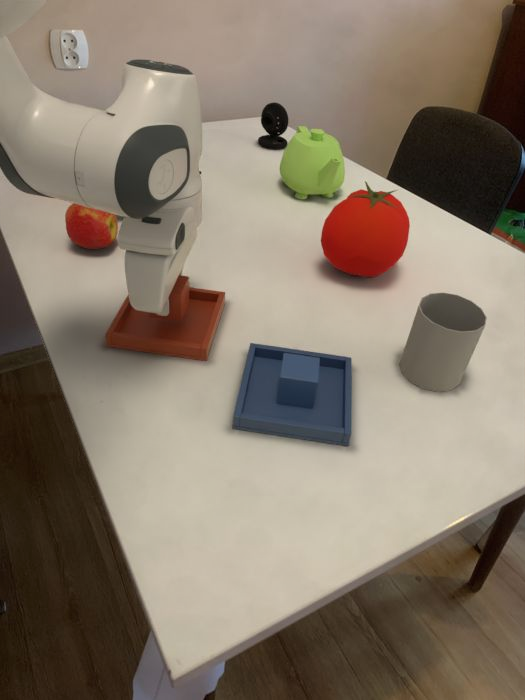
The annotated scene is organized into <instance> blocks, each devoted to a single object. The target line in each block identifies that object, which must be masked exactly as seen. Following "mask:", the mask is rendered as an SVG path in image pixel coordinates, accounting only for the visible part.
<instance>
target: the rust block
mask: <svg viewBox="0 0 525 700" xmlns="http://www.w3.org/2000/svg"><path fill="white" fill-rule="evenodd" d="M189 287H190V277H189V276H187V275H182V276H181V275H179V276H178V278H177V280H176V282H175V285H174V287H173V289H172V291H171V293H170V295H169V297H168V299H169V300H171V309H170V312H169V314H168V315H167V316H162V315H157V314H156V313H149V316H150V317H154V318H161V319H168V320H175V321H182V319H183V317H184V314H185V312H186V309H187V307H188V304H189Z"/></svg>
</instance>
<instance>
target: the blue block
mask: <svg viewBox="0 0 525 700" xmlns="http://www.w3.org/2000/svg"><path fill="white" fill-rule="evenodd" d="M319 362H320V358H316V357H309V356H303V355H296V354H289V353H284V354H283V360H282V367H281V373H280V380H279V387H278V394H277V402H276V403H277V404H284V405H290V406H297V407H304V408H310V409H313V405H314V400H315V395H316V390H317V385H318V376H319Z"/></svg>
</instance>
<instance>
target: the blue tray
mask: <svg viewBox="0 0 525 700" xmlns="http://www.w3.org/2000/svg"><path fill="white" fill-rule="evenodd" d="M284 353H289V354H296V355H303V356H309V357H316V358H320V362H319V376H318V385H317V390H316V395H315V400H314V405H313V409H310V408H304V407H297V406H290V405H284V404H277V403H276V402H277V394H278V387H279V380H280V373H281V367H282V360H283V354H284ZM352 359H353V358H352V357H350V356H345V355H337V354H329V353H323V352H316V351H310V350H304V349H302V350H301V349H296V348H290V347H289V348H288V347H280V346H274V345H268V344H261V343H253V342H250V343H249V348H248V352H247V356H246V360H245V365H244V369H243V373H242V377H241V381H240V384H239V385H240V386H239V389H238V390H239V391H238V394H237V398H236V403H235V407H234V411H233V415H232V429H234V430H239V431H247V432H254V433H260V434H267V435H272V436H278V437H286V438H292V439H299V440H307V441H311V442H312V441H313V442H318V443H319V442H320V443H325V444H332V445H339V446H344V447H349V444H350V441H351V438H352V434H353V433H352V431H353V430H352V425H353V424H352V419H353V417H352V411H353V410H352V406H353V405H352V403H353V402H352V396H353V395H352V394H353V393H352V385H353V383H352V376H353V375H352V373H353V371H352V367H353V365H352V363H353V362H352Z"/></svg>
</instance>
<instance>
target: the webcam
mask: <svg viewBox="0 0 525 700" xmlns="http://www.w3.org/2000/svg"><path fill="white" fill-rule="evenodd" d="M260 117H261V118H260V123H261V126H262V128H263V130H264V131H265V132H266V133H267V134H265V135H260V137H258V139H257V144H258V145H259V147H261V148H263V149H266V150H283V149H286V147H287V145H288V141H287V139H286V138H284V137H282V135H283V134H284V133H285V132H286V131H287V129H288V126H289V115H288V112H287V109H286V108H285V107H284V106H283V104H280V103H278V102H269V103H267V104H265V106H264V107H263V109H262V111H261V115H260ZM275 142H276V143H275Z"/></svg>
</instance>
